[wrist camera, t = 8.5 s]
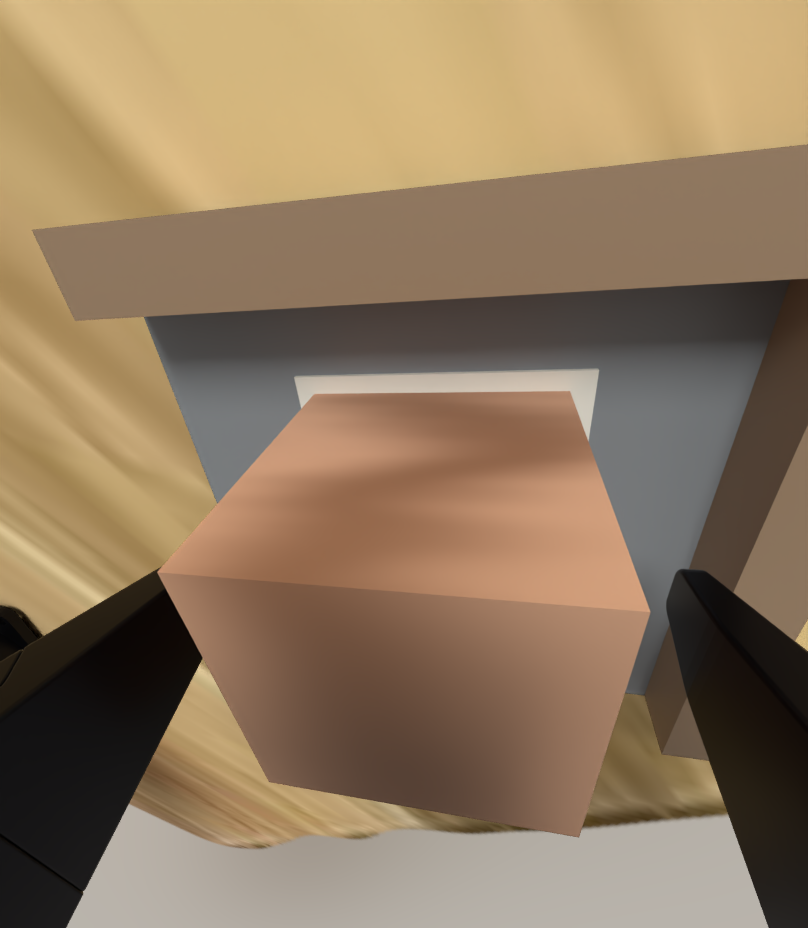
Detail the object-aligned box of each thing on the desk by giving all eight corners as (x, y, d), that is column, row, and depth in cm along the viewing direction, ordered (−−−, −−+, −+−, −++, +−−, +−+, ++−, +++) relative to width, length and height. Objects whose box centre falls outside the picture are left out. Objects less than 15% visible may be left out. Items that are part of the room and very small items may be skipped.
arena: (688, 676, 14) (721, 762, 12) (285, 635, 17) (255, 698, 15) (918, 135, 7) (1112, 110, 5) (134, 220, 9) (31, 229, 7)
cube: (569, 390, 9) (650, 611, 4) (546, 582, 12) (579, 837, 7) (314, 394, 10) (157, 572, 5) (350, 568, 13) (269, 781, 8)
